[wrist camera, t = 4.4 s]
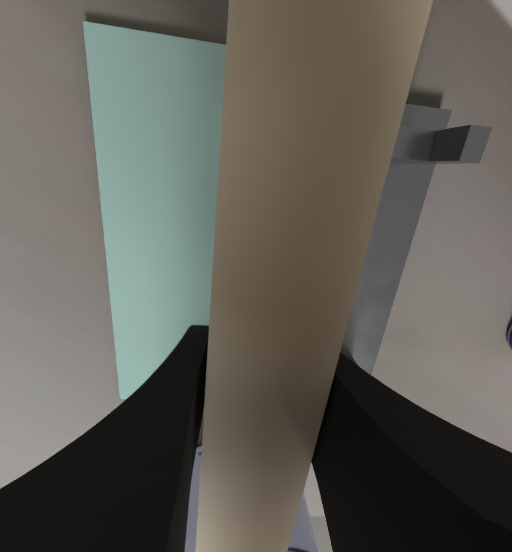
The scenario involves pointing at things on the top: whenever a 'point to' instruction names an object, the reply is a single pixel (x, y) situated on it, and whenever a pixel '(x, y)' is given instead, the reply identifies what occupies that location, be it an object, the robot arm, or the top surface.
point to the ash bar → (291, 241)
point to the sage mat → (155, 185)
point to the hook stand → (403, 218)
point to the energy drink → (510, 336)
